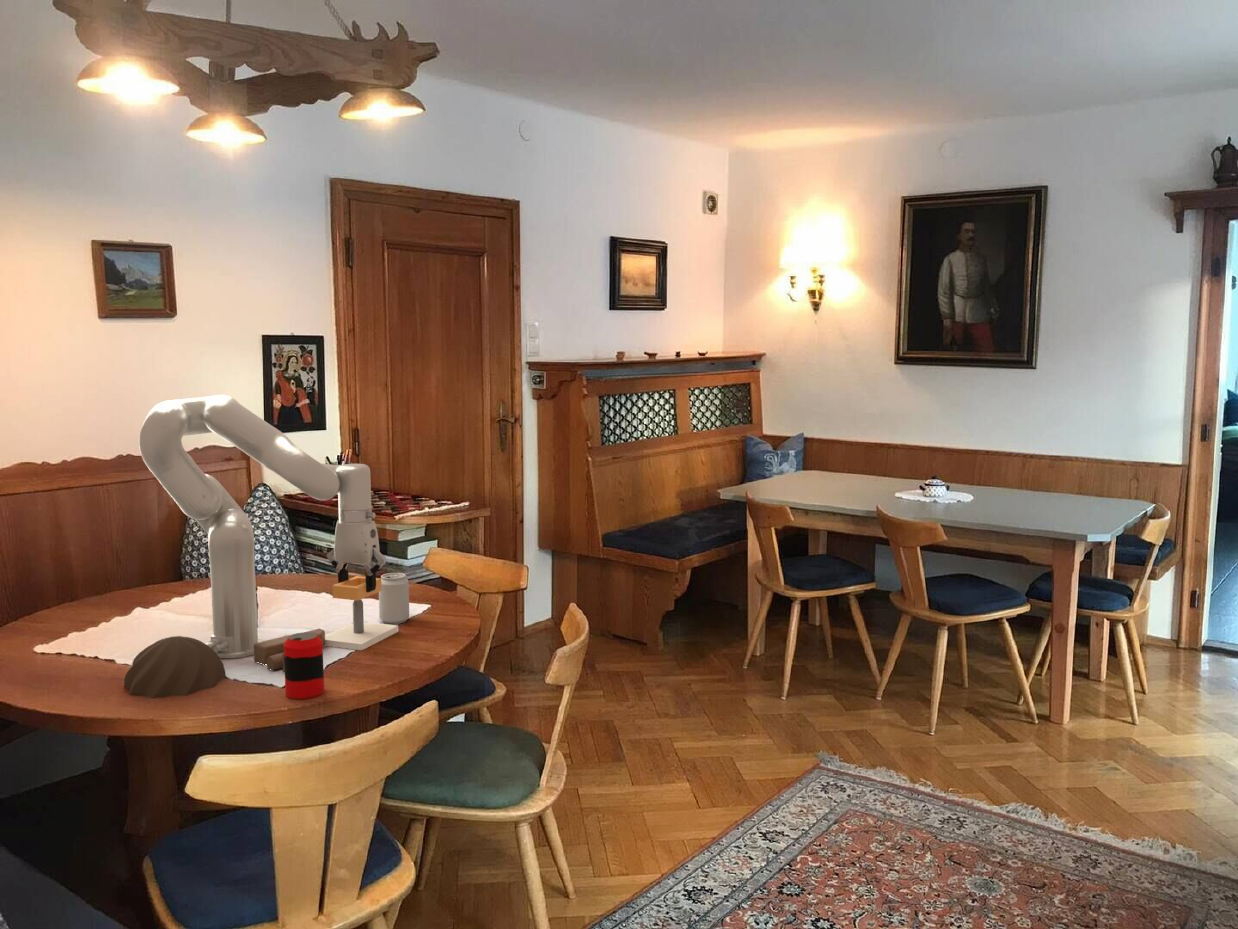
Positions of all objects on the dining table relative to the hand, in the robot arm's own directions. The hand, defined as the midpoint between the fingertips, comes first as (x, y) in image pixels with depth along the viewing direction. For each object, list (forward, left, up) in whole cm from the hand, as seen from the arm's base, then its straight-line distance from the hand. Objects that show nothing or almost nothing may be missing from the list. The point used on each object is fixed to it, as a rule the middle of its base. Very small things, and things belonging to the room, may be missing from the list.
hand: (357, 588), depth 245 cm
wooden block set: (-18, +1, -13) cm, 23 cm away
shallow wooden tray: (0, 0, -1) cm, 1 cm away
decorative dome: (-39, +19, -13) cm, 45 cm away
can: (+16, 0, -12) cm, 20 cm away
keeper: (0, 0, -12) cm, 12 cm away
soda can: (-36, -11, -12) cm, 40 cm away
